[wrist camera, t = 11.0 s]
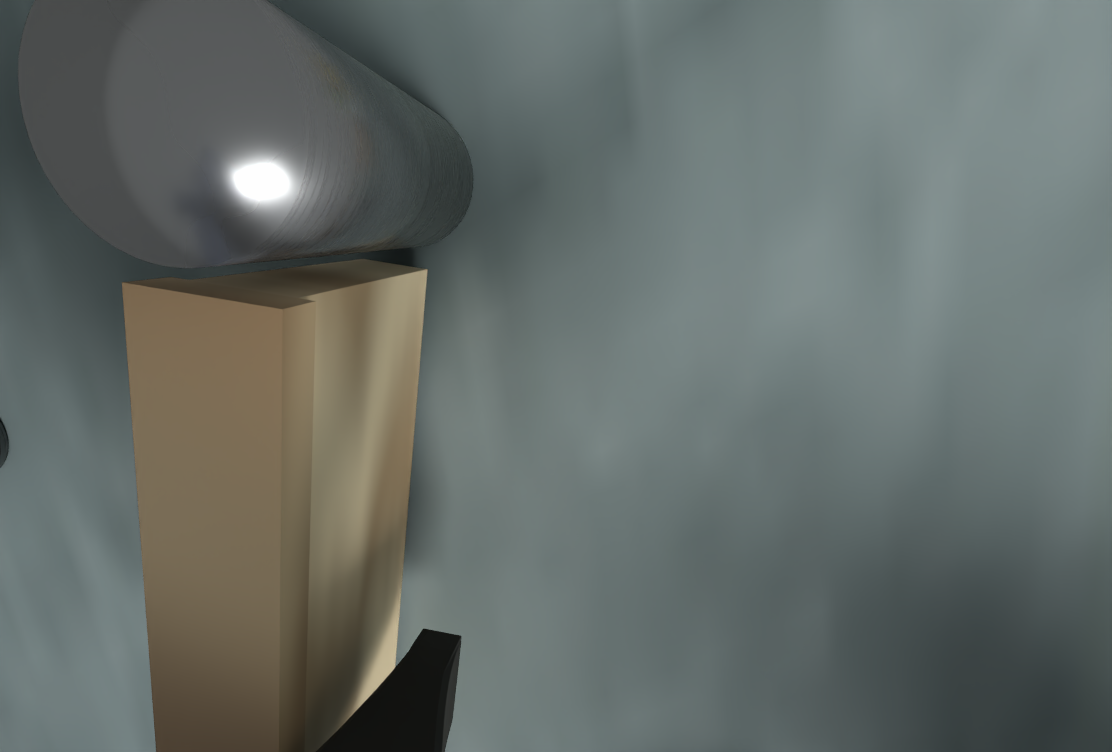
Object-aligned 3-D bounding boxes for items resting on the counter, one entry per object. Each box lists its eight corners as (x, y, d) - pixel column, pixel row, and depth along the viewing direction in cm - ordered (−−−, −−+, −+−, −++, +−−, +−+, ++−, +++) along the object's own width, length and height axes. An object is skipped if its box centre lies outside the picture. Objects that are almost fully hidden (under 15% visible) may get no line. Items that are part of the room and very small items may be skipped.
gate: (352, 257, 10) (121, 282, 5) (438, 270, 10) (281, 308, 5) (332, 727, 13) (175, 1008, 8) (397, 741, 13) (276, 1033, 8)
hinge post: (400, 274, 10) (170, 323, 5) (315, 164, 10) (-39, 87, 4) (500, 191, 10) (364, 144, 4) (413, 72, 9) (143, -143, 4)
